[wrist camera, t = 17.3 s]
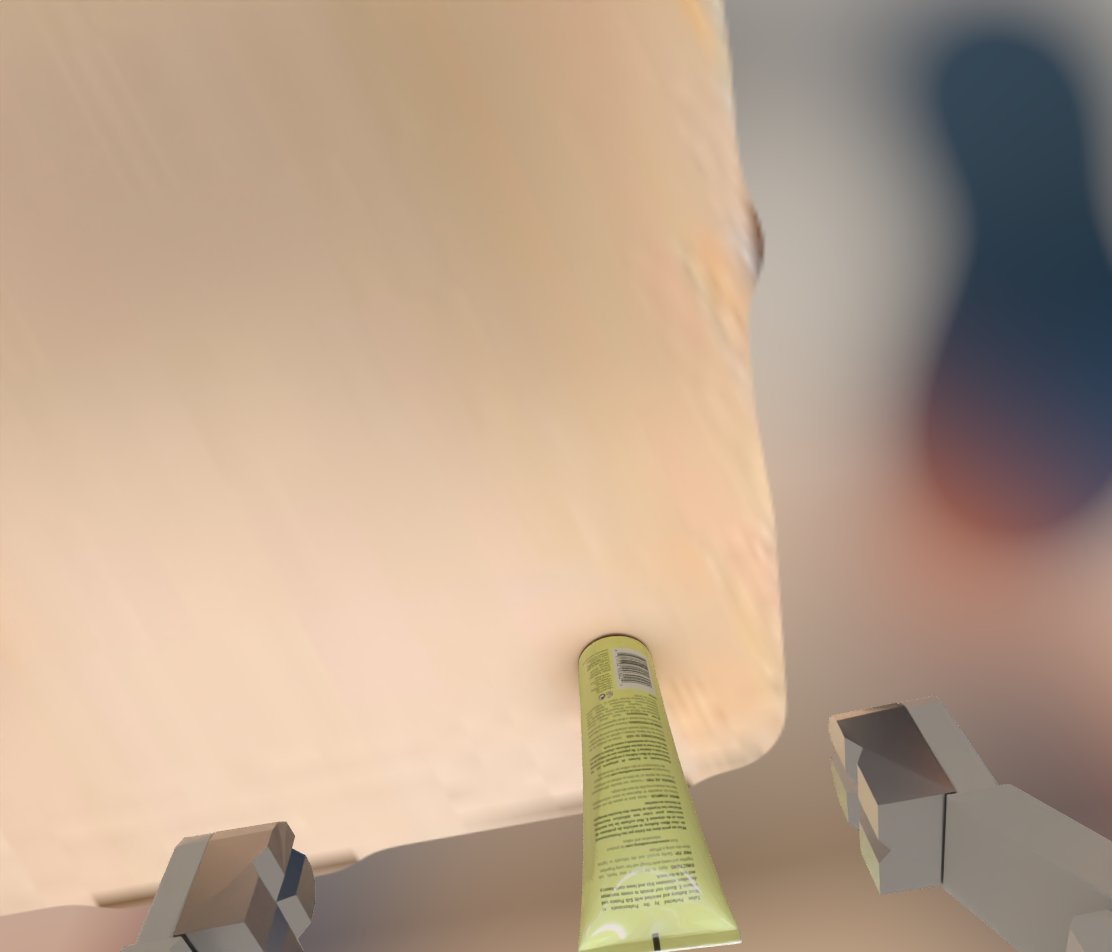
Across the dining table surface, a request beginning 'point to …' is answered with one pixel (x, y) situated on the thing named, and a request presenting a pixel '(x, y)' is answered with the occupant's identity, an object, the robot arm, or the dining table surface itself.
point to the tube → (640, 817)
